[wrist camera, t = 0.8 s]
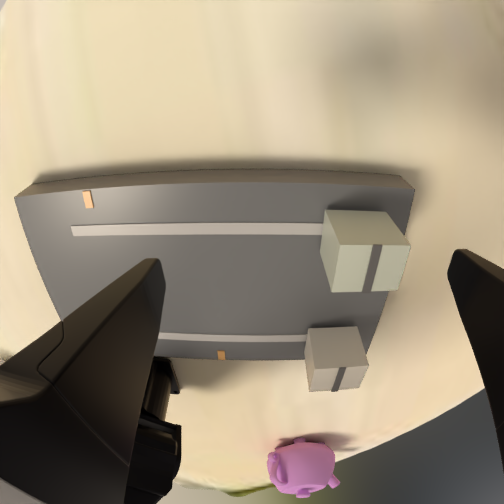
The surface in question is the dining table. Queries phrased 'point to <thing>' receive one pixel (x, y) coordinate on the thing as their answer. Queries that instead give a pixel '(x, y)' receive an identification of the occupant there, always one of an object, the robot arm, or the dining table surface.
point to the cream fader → (334, 358)
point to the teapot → (302, 468)
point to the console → (212, 251)
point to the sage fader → (362, 251)
